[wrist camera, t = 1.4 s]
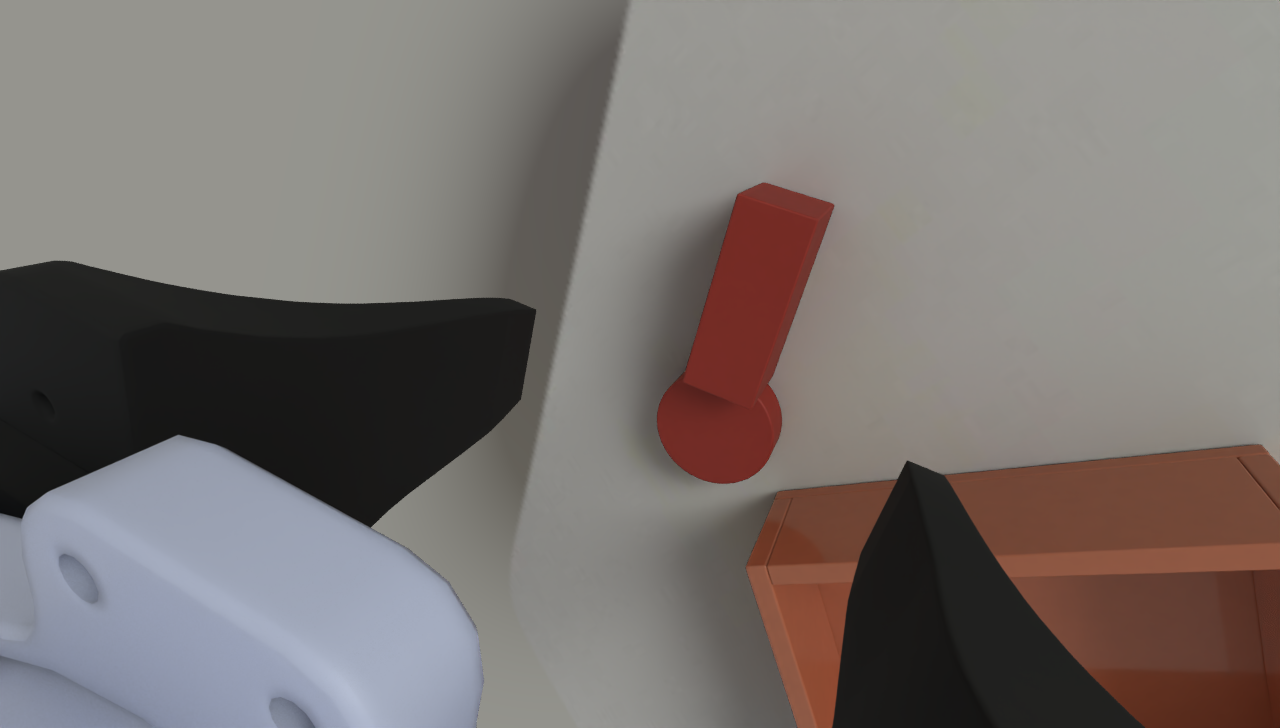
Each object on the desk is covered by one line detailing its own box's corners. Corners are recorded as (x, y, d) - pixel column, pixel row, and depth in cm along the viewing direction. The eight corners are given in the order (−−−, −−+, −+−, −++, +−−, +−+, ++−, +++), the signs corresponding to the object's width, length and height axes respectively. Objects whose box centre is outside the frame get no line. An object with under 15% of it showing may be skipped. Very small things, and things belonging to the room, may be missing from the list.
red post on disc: (734, 172, 18) (705, 182, 16) (865, 213, 17) (854, 230, 15) (658, 438, 22) (626, 476, 20) (761, 483, 21) (739, 528, 19)
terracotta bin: (852, 738, 23) (836, 849, 20) (776, 491, 21) (744, 566, 18) (1301, 772, 18) (1387, 934, 14) (1261, 442, 16) (1351, 539, 12)
